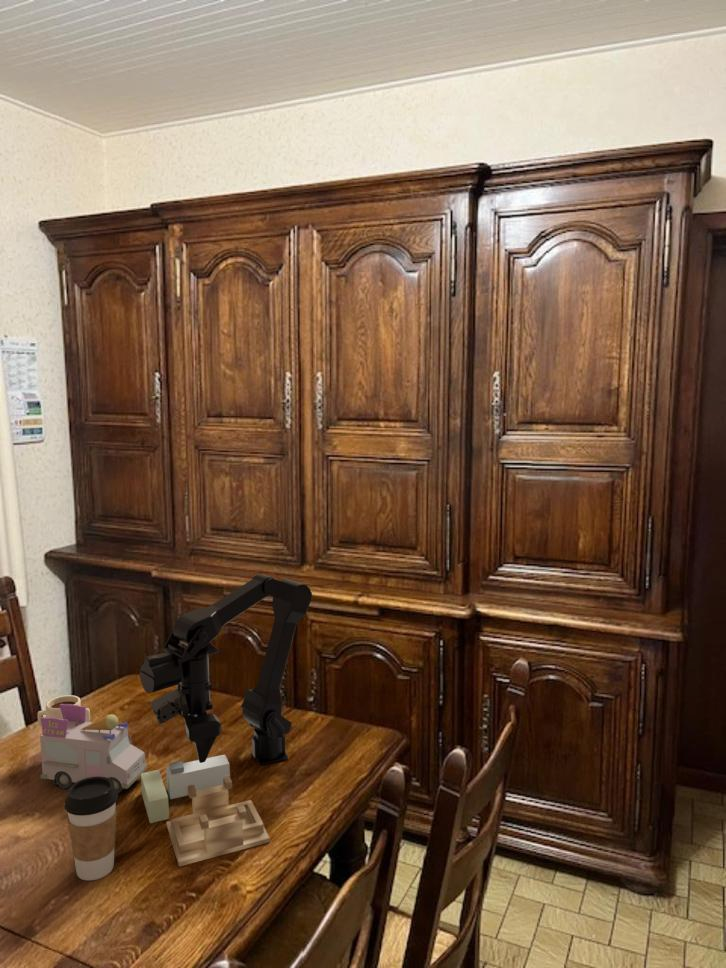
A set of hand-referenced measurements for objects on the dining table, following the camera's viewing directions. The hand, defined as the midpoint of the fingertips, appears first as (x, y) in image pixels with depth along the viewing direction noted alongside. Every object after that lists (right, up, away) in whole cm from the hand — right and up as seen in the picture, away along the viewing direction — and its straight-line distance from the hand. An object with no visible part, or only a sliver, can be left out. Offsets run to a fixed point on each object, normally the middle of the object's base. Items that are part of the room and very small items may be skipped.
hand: (197, 751), depth 146 cm
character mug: (-32, -6, +13) cm, 35 cm away
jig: (+7, -10, -14) cm, 19 cm away
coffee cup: (-12, -11, -24) cm, 29 cm away
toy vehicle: (-22, -8, +3) cm, 23 cm away
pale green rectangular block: (-7, -9, -5) cm, 12 cm away
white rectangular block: (0, -8, +1) cm, 8 cm away
